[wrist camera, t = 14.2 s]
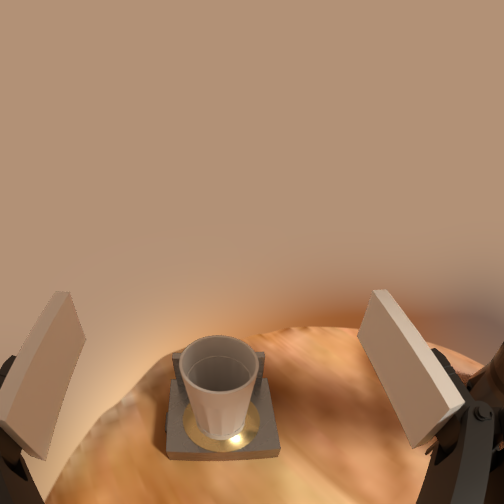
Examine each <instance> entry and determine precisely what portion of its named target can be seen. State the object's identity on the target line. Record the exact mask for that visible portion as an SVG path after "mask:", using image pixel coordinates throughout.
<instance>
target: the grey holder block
mask: <svg viewBox="0 0 504 504" xmlns="http://www.w3.org/2000/svg"><path fill="white" fill-rule="evenodd" d="M255 353H256V355H257V357H258V361H259V369H258V373H257V377H256V380H255V384H254V388H253V391H252V395H251V398H250V402H249V406H248V410H247V414H246V417H245V424H244V427H243V429H242V431H241V432H240V433H239V434H238V435H236V436H235V437H233V438H230V439H226V440H216V439H212V438H209V437H207V436H205V435H204V434H203V433H202V432H201V431H200V430H199V429H198V427H197V424H196V419H195V416H194V413H193V410H192V407H191V404H190V400H189V397H188V394H187V391H186V387H185V384H184V381H183V378H182V375H181V372H180V368H179V360H180V356H181V354H182V353H173V356H172V360H173V365H174V370H175V375H176V380H175V379H171V387H170V399H169V411H168V413H167V412H166V425H165V432H166V434H167V441H166V453H167V455H168V457H169V459H170V460H188V461H229V460H249V459H262V458H273V457H278V455H279V452H280V449H281V447H280V442H279V437H278V432H277V427H276V422H275V416H274V411H273V406H272V401H271V396H270V390H269V385H268V380H267V378H262V376H263V369H264V361H265V354H264V352H255Z"/></svg>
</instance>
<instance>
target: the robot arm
mask: <svg viewBox="0 0 504 504" xmlns="http://www.w3.org/2000/svg"><path fill="white" fill-rule="evenodd" d="M357 337H358V339H359V341H360V343H361V344H362V346H363V348H364V350H365V352H366V354H367V356H368V358H369V360H370V362H371V364H372V366H373V368H374V370H375V372H376V374H377V376H378V378H379V380H380V382H381V384H382V386H383V388H384V390H385V392H386V394H387V396H388V398H389V400H390V402H391V404H392V406H393V408H394V410H395V412H396V414H397V417H398V419H399V421H400V423H401V425H402V427H403V429H404V432H405V434H406V436H407V438H408V440H409V443H410V445H411V447H412V449H413V448H416V447H418V446H421V445H423V444H426V443H428V442H429V441H430V440H431V439H432V438H433V437H434V436H435V435H436V437H437V439H438V440H437V441H436V442H435V443H434V444H433V445H432V446H431V447H430V448H429V449H427V451H426V453H425V455H427V454H429V453H430V452H431V451H432V450H433V452H432V454H431V455H430V456H431V459H430V463H429V466H428V469H427V473H426V476H425V479H424V482H423V485H422V488H421V491H420V494H419V497H418V499H417V502H416V504H504V448H503V449H502V450H500V449H499V445H500V444H501V443H502V442H504V342H503V343H502V345H501V347H500V348H499V350H498V351H497V353H496V354H495V356H494V358H493V359H492V360H491V362H490V363H488V364H487V365H486V366H484V367H483V368H482V369H480V370H479V371H478V372H476V373H475V374H473V375H472V376H471V377H470V378H469V379H468V380H467V381H466V383H465V384H463V382H462V381H461V379H460V378H459V376H458V375H457V374H456V373H455V370H454V369H453V367H452V366H451V364H450V363H449V361H448V360H447V358H446V357H445V356H444V355H443V354H442V353H441V352H439V351H438V350H437V349H436V348H433V349H430V348H429V346H428V345H427V343H426V342H425V341H424V339H423V338H422V336H421V335H420V334H419V332H418V331H417V329H416V328H415V327H414V325H413V324H412V323H411V321H410V320H409V319H408V317H407V316H406V314H405V313H404V312H403V310H402V309H401V308H400V306H399V305H398V304H397V302H396V301H395V300H394V299H393V297H392V296H391V295H390V293H389V292H388V291H387V290H373V291H372V294H371V298H370V300H369V303H368V307H367V309H366V312H365V315H364V318H363V321H362V324H361V327H360V329H359V332H358V335H357ZM85 340H86V338H85V335H84V333H83V330H82V327H81V324H80V322H79V319H78V316H77V313H76V310H75V307H74V304H73V301H72V298H71V295H70V292H59V291H56V292H55V293H54V295H53V296H52V298H51V299H50V301H49V303H48V304H47V305H46V307H45V309H44V310H43V312H42V313H41V315H40V317H39V318H38V320H37V322H36V323H35V325H34V326H33V328H32V330H31V332H30V333H29V335H28V337H27V339H26V340H25V342H24V344H23V346H22V347H21V349H20V351H19V353H18V355H17V356H13V355H12V356H11V357H10V358H9V359H8V360H6V361H5V363H4V364H3V365H2V367H1V369H0V504H45V503H44V501H43V499H42V498H41V496H40V494H39V492H38V490H37V487H36V485H35V483H34V481H33V479H32V477H31V474H30V472H29V470H28V468H27V465H26V463H25V460H24V459H23V457H22V455H21V454H20V453H21V450H22V449H23V450H24V451H25V452H26V453H28V454H29V455H30V456H32V457H35V458H38V459H41V460H44V461H46V458H47V454H48V450H49V446H50V443H51V439H52V435H53V432H54V428H55V425H56V422H57V418H58V415H59V412H60V409H61V406H62V402H63V400H64V396H65V393H66V391H67V388H68V385H69V382H70V379H71V376H72V374H73V371H74V369H75V366H76V363H77V361H78V358H79V355H80V353H81V350H82V348H83V345H84V343H85Z"/></svg>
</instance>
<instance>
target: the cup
mask: <svg viewBox="0 0 504 504" xmlns="http://www.w3.org/2000/svg"><path fill="white" fill-rule="evenodd" d="M179 368H180V372H181V375H182V378H183V381H184V384H185V387H186V391H187V394H188V397H189V400H190V404H191V407H192V410H193V413H194V416H195V419H196V424H197V427H198V429H199V430H200V431H201V432H202V433H203V434H204V435H205V436H207V437H209V438H212V439H216V440H226V439H230V438H233V437H235V436H236V435H238V434H239V433H240V432H241V431H242V429H243V427H244V424H245V417H246V414H247V410H248V406H249V402H250V398H251V395H252V391H253V388H254V384H255V380H256V377H257V373H258V369H259V361H258V357H257V355H256V353H255V352H254V350H253V349H252V348H251V347H250V346H249V345H248V344H246V343H245V342H243V341H241V340H239V339H236V338H233V337H229V336H222V335H216V336H208V337H203V338H200V339H198V340H196V341H194V342H193V343H191V344H189V345H188V346H187V347H186V348H185V349H184V351H183V352H182V354H181V356H180V360H179Z"/></svg>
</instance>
